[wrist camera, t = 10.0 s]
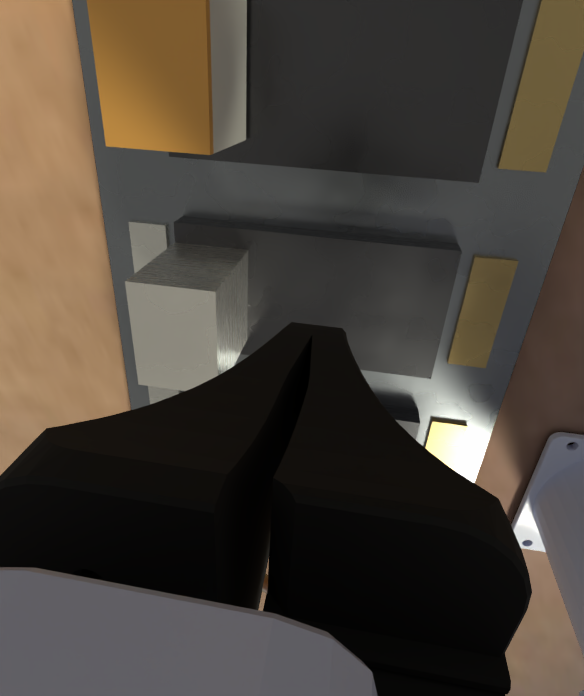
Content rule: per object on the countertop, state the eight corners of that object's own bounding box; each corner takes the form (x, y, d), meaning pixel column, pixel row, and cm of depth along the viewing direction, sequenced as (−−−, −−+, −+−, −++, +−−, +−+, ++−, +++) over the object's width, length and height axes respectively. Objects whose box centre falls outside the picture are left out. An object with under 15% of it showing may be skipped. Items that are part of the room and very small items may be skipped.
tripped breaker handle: (246, -5, 14) (204, -33, 11) (246, 139, 16) (210, 155, 13) (151, -9, 14) (81, -38, 11) (162, 133, 16) (106, 146, 13)
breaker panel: (642, -57, 14) (819, -151, 8) (457, 503, 26) (479, 619, 20) (80, -73, 16) (-79, -157, 10) (148, 454, 28) (91, 547, 22)
